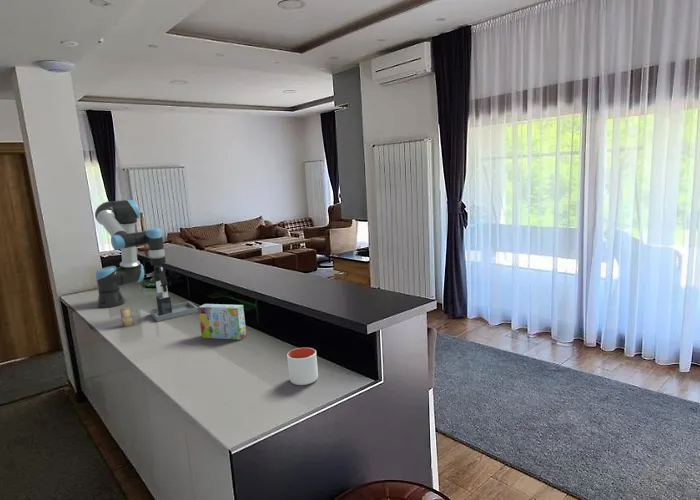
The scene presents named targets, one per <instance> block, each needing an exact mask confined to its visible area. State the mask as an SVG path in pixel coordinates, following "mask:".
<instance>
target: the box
mask: <svg viewBox="0 0 700 500" xmlns="http://www.w3.org/2000/svg"><path fill="white" fill-rule="evenodd" d="M155 297H156V306H157V307H156V308H158V314H159V315H164V314H169V313H172V306H171V305H172V299H171V296H170V295H168V297H166V298H163V295H162V294H161V295H157V296H155Z"/></svg>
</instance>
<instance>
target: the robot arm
mask: <svg viewBox="0 0 700 500" xmlns="http://www.w3.org/2000/svg"><path fill="white" fill-rule="evenodd" d="M94 217H95V220H96V221H97V224H100V225H102V226H103V228H104V229H105V231H106V232H107V233H108V234H109V236H110V244H111V247H112V248H113V249H114V250H121V251H120V252H121V262H119V267H117V266H115V265H111V266H107V267H103V268H100V269H98V270H96V272H95V280H96V285H97V290H98V298H97V302H96V305H97V308H99V309H106V308H113V307H118V306H121V305H123V304H125V303H126V301H125V297H124V296H123V294H122V292H121V290H120V288H121V287H122V286H127V285H128V286H129V285H132V284H137V283H141V282H142V281H144V278H145V269H144V265H143V264H142V263H141V262H140V260H138V252H137V251H138V250H137V247H143V246H148V251H147V254H148V255H149V257H150V259H149V261H150V266H153V271H154V273H153V276H154V280H155V286H156V293H157V294H159V293H162V294H161V295H163V298H166V297H168V296H169V291H168V285H169V284H168V280H167V277H166V271H165V267H164V266H163V265H164V264H166V256H165V255H166V253H165V247H164V239H163V237H164V236H163V230H162V229H161V228H160V227H151V228H148V229H146V230H143V231H139V232H136V227H135V225H136V224H137V222H138V219H140V217H141V211H140V208H139V204H138V203H137V202H136V201H135V200H133V199H123V200H121V199H120V200H113V201H112V200H111V201H106V202H103V203H101V204H99V205H98V207H97V208H96V209H95V212H94Z"/></svg>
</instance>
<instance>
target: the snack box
mask: <svg viewBox="0 0 700 500" xmlns="http://www.w3.org/2000/svg"><path fill="white" fill-rule="evenodd" d="M197 307H198V312H199V313H198V316H199V317H198V318H199V323H200V331H201V332H200V333H201V338H203V339H215V340H216V339H218V340H234V341H235V340H236V341H241V340H242V339H245V338H246V337H247V328H246V320H245V319H246V318H245V310H244V304H224V303H223V304H219V303H216V304H215V303H204V304H202V305H200V306H197Z"/></svg>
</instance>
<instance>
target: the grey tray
mask: <svg viewBox="0 0 700 500" xmlns="http://www.w3.org/2000/svg"><path fill="white" fill-rule="evenodd" d="M171 306H172V313H169V314H164V315H159V314H158V307H156V308H152V309H149V314H150V315H149V316H151V317H152V318H153V319H154V320H155V321H156V322H157V323H158V322H164V321H168V320H172V319H177V318H181V317H185V316H186V317H187V316H189V315H194V314H199V310H198V307H199V306H196V305H195V304H194V303H193V302H191V301H185V302H180V303H175V304H171Z"/></svg>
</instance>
